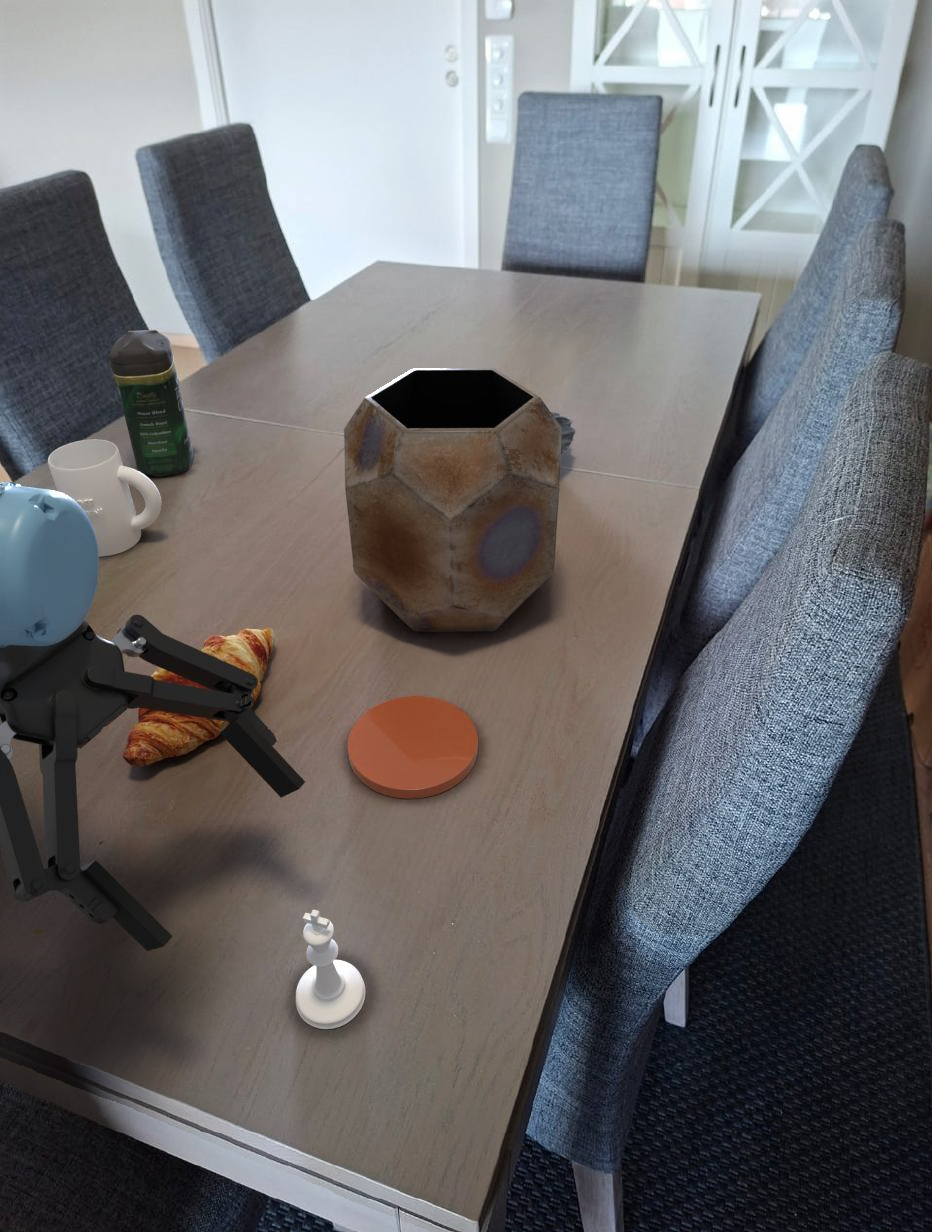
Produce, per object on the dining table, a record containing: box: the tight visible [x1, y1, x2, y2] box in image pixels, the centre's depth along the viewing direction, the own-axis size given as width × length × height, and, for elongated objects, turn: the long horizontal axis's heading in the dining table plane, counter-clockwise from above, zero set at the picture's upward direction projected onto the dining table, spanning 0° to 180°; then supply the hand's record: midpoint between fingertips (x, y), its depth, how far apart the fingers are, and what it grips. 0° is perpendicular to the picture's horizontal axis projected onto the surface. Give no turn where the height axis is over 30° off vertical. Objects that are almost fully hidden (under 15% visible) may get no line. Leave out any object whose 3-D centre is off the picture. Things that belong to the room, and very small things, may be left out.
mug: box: [47, 438, 162, 558], centre depth 107 cm, size 8×12×12 cm
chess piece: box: [295, 909, 366, 1030], centre depth 59 cm, size 5×5×10 cm
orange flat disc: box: [347, 695, 479, 800], centre depth 81 cm, size 12×12×1 cm
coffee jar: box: [109, 329, 194, 477], centre depth 122 cm, size 10×8×19 cm
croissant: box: [122, 627, 276, 767], centre depth 84 cm, size 21×10×8 cm, turn 156°
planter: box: [343, 367, 562, 633], centre depth 94 cm, size 22×24×24 cm
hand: (232, 861), depth 58 cm, fingers open, 13 cm apart
